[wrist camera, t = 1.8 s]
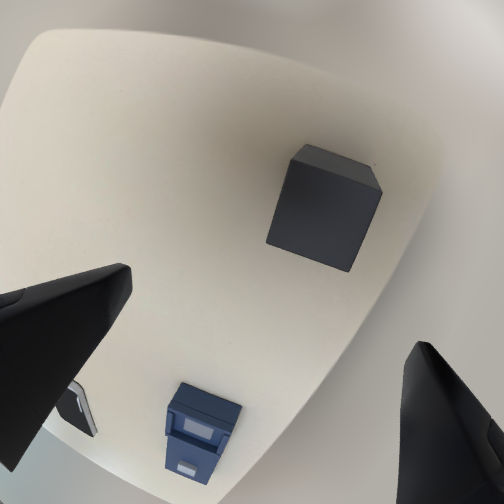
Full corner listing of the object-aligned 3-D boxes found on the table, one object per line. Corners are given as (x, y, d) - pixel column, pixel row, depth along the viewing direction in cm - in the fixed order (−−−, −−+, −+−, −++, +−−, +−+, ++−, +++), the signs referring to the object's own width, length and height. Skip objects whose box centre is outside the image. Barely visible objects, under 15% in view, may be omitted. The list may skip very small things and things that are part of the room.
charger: (370, 166, 17) (383, 191, 12) (347, 226, 19) (348, 274, 14) (304, 142, 18) (288, 158, 13) (285, 204, 20) (263, 243, 15)
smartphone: (61, 417, 45) (39, 366, 37) (64, 412, 46) (44, 361, 39) (94, 438, 44) (77, 392, 36) (98, 433, 45) (82, 385, 38)
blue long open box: (242, 406, 29) (231, 433, 26) (211, 472, 39) (204, 490, 36) (182, 381, 30) (167, 406, 27) (171, 455, 40) (162, 473, 37)
